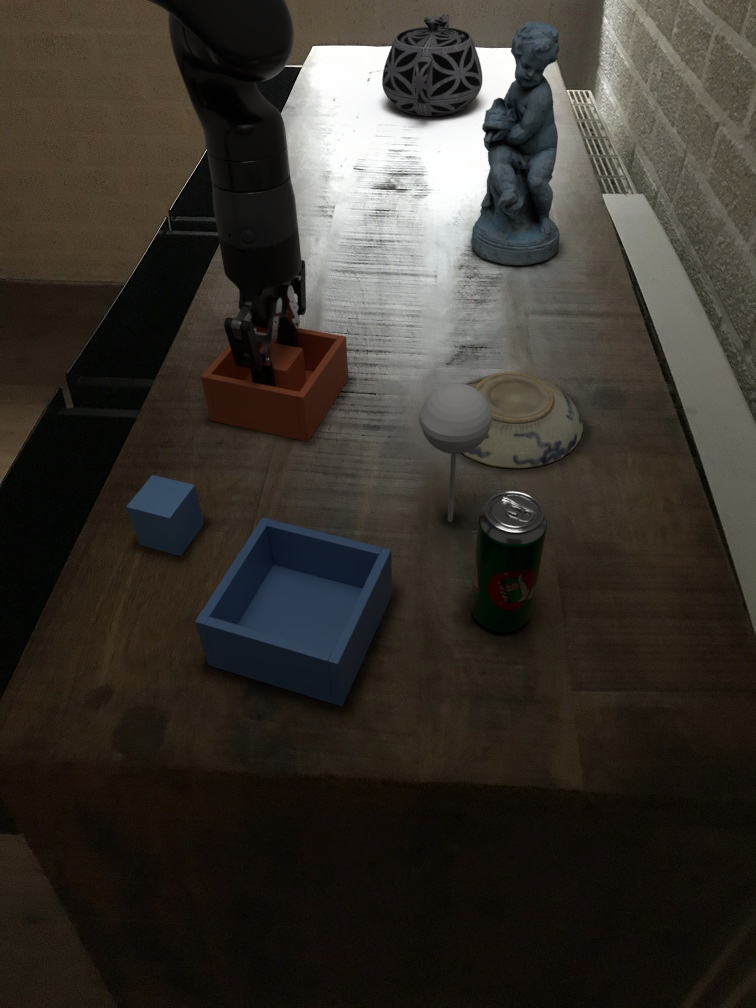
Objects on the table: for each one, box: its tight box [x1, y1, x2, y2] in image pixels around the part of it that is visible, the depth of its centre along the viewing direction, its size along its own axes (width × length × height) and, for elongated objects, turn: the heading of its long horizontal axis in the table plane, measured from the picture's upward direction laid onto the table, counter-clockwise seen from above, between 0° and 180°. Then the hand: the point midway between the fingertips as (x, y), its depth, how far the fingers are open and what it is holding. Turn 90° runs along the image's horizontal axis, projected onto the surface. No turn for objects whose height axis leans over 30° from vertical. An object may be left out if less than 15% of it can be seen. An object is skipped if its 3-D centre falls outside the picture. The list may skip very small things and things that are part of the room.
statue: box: [470, 21, 561, 266], centre depth 104 cm, size 12×23×27 cm, turn 0°
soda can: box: [470, 490, 548, 633], centre depth 63 cm, size 5×5×12 cm
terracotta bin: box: [200, 326, 349, 443], centre depth 86 cm, size 12×12×6 cm
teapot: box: [381, 13, 483, 117], centre depth 150 cm, size 19×31×15 cm, turn 168°
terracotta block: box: [249, 343, 306, 392], centre depth 86 cm, size 4×4×5 cm
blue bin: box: [194, 516, 393, 708], centre depth 64 cm, size 12×12×6 cm
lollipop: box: [418, 382, 492, 523], centre depth 69 cm, size 6×6×15 cm
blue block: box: [126, 474, 205, 557], centre depth 72 cm, size 4×4×5 cm
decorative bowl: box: [462, 371, 584, 470], centre depth 83 cm, size 15×4×15 cm
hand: (277, 373), depth 86 cm, fingers open, 5 cm apart
